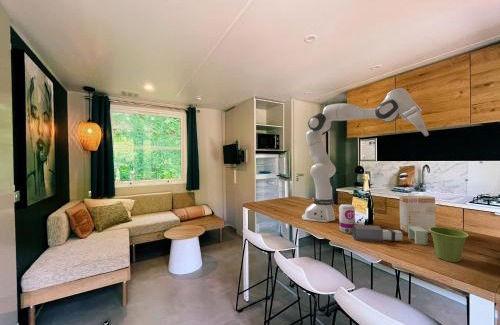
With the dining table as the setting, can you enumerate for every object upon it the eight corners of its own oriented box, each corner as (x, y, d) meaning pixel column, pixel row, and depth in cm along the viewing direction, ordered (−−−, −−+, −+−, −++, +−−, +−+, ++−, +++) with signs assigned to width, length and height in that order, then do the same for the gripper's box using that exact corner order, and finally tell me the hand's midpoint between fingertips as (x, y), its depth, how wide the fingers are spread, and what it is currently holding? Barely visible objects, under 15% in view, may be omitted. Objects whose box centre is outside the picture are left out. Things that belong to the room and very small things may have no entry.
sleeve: (354, 240, 109) (354, 228, 109) (351, 235, 115) (351, 224, 115) (383, 241, 106) (382, 229, 106) (378, 236, 112) (378, 225, 112)
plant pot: (443, 265, 82) (442, 236, 82) (422, 251, 94) (422, 226, 94) (477, 266, 80) (477, 236, 80) (452, 252, 92) (452, 226, 92)
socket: (416, 244, 102) (415, 230, 102) (408, 238, 109) (408, 225, 109) (428, 244, 101) (427, 231, 101) (419, 238, 108) (419, 226, 108)
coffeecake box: (426, 228, 123) (426, 195, 122) (436, 233, 115) (435, 197, 115) (399, 228, 124) (398, 195, 124) (407, 232, 117) (406, 197, 117)
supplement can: (358, 233, 118) (357, 206, 118) (343, 234, 118) (342, 207, 118) (350, 228, 126) (350, 203, 126) (337, 229, 126) (336, 204, 126)
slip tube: (356, 239, 109) (356, 230, 109) (353, 235, 115) (353, 226, 115) (403, 241, 104) (402, 232, 104) (398, 237, 110) (397, 228, 110)
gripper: (406, 119, 123) (421, 139, 119) (402, 114, 108) (418, 136, 104) (418, 112, 120) (434, 133, 116) (416, 106, 104) (433, 129, 100)
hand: (426, 135), depth 110 cm, fingers open, 8 cm apart
